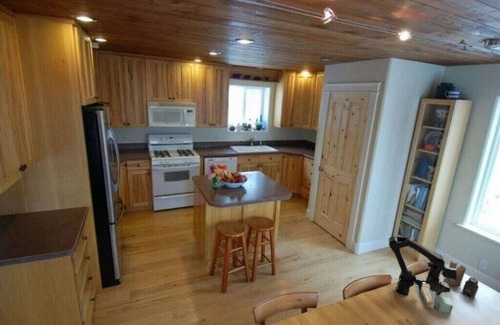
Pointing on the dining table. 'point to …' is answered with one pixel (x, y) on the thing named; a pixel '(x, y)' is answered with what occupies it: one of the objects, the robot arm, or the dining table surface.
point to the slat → (427, 297)
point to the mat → (433, 295)
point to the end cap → (443, 304)
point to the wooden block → (459, 272)
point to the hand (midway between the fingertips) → (427, 294)
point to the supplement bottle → (470, 287)
